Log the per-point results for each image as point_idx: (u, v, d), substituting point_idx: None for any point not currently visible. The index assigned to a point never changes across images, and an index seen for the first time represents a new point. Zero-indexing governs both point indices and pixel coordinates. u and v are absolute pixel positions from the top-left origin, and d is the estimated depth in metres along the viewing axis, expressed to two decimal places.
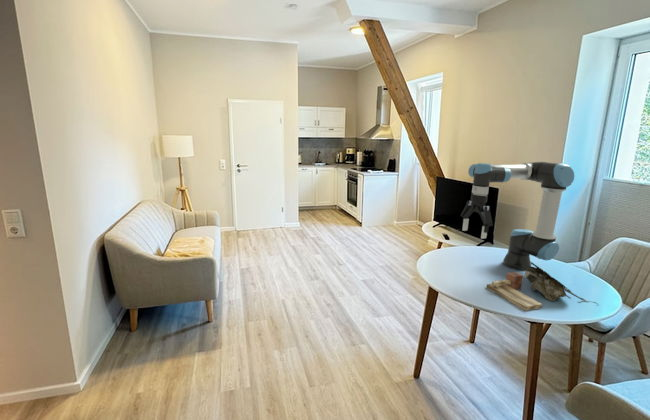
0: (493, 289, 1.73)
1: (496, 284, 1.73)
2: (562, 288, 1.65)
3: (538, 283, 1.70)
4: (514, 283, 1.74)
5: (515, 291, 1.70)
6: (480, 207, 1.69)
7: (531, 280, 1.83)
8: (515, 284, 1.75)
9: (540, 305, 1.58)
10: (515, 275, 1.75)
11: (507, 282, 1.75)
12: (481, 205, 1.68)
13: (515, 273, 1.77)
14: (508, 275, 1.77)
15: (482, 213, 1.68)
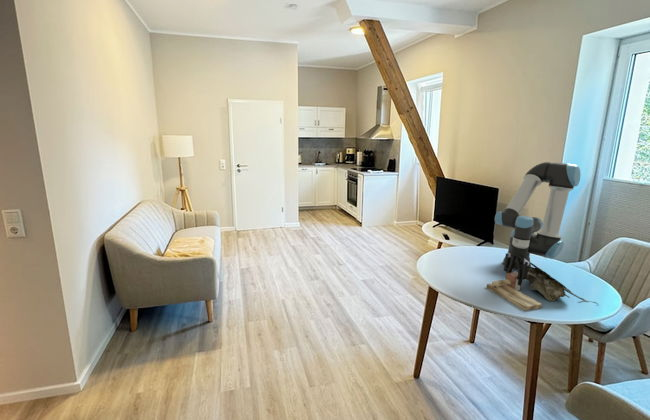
0: (493, 289, 1.73)
1: (496, 284, 1.73)
2: (562, 288, 1.65)
3: (538, 283, 1.70)
4: (514, 283, 1.74)
5: (515, 291, 1.70)
6: (521, 259, 1.71)
7: (530, 280, 1.83)
8: None
9: (540, 305, 1.58)
10: (515, 275, 1.75)
11: (507, 282, 1.75)
12: (522, 257, 1.70)
13: (515, 273, 1.77)
14: (508, 275, 1.77)
15: (520, 266, 1.72)
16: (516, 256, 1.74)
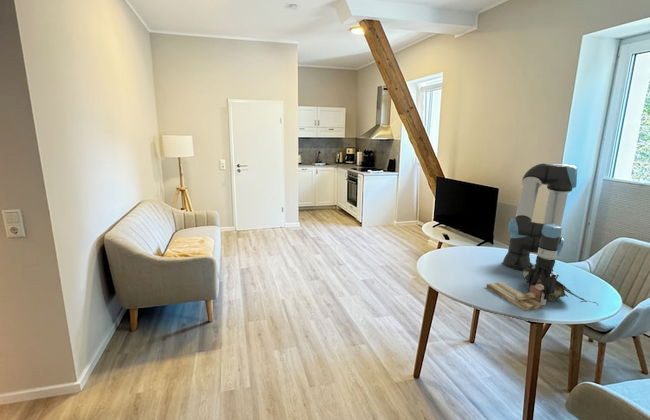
0: (493, 289, 1.73)
1: (520, 298, 1.59)
2: (562, 288, 1.65)
3: (538, 283, 1.70)
4: (539, 297, 1.61)
5: (515, 291, 1.70)
6: (547, 271, 1.57)
7: None
8: (540, 298, 1.61)
9: (540, 305, 1.58)
10: (540, 288, 1.61)
11: (532, 295, 1.61)
12: (549, 269, 1.57)
13: (540, 285, 1.64)
14: (532, 288, 1.63)
15: (546, 279, 1.58)
16: (542, 268, 1.60)
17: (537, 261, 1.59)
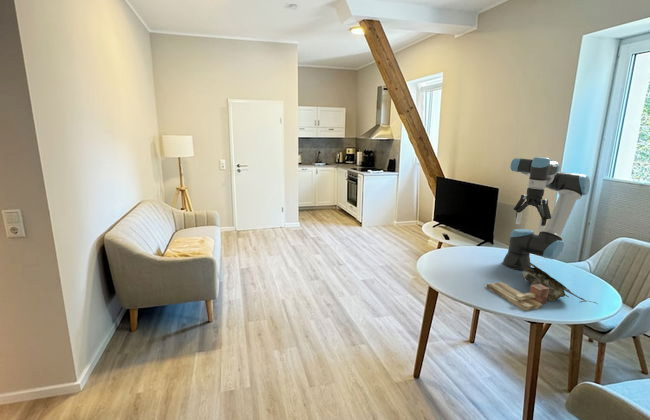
0: (493, 289, 1.73)
1: (520, 298, 1.59)
2: (562, 288, 1.65)
3: (537, 283, 1.70)
4: (539, 297, 1.61)
5: (515, 291, 1.70)
6: (537, 200, 1.70)
7: (529, 280, 1.83)
8: (540, 298, 1.61)
9: (540, 305, 1.58)
10: (540, 288, 1.61)
11: (532, 295, 1.61)
12: (538, 198, 1.70)
13: (540, 285, 1.64)
14: (532, 288, 1.63)
15: (539, 206, 1.70)
16: (532, 198, 1.73)
17: (528, 192, 1.73)
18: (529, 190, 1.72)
